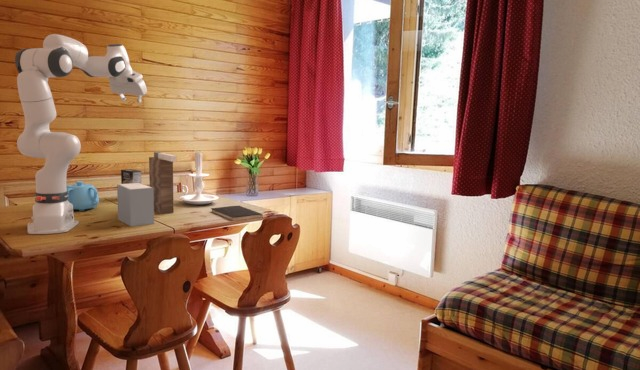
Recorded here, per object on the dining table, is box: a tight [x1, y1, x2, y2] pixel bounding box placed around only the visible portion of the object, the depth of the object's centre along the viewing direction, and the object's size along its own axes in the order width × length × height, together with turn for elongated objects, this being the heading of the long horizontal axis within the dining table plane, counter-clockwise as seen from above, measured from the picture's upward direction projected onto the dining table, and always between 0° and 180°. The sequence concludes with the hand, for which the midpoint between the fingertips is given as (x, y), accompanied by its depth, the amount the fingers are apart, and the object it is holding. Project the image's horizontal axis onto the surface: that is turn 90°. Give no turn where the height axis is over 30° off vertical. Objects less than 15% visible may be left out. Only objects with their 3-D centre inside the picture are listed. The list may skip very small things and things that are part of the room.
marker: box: [153, 151, 178, 163], centre depth 224 cm, size 20×3×3 cm, turn 41°
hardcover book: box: [210, 205, 263, 222], centre depth 230 cm, size 16×23×2 cm
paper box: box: [116, 182, 155, 227], centre depth 207 cm, size 16×10×16 cm, turn 41°
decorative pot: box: [67, 180, 100, 212], centre depth 229 cm, size 16×16×14 cm
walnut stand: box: [148, 156, 175, 215], centre depth 230 cm, size 14×6×26 cm, turn 41°
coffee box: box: [120, 168, 142, 184], centre depth 257 cm, size 9×6×16 cm
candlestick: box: [178, 151, 220, 205], centre depth 253 cm, size 21×25×28 cm
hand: (132, 101), depth 243 cm, fingers open, 8 cm apart
